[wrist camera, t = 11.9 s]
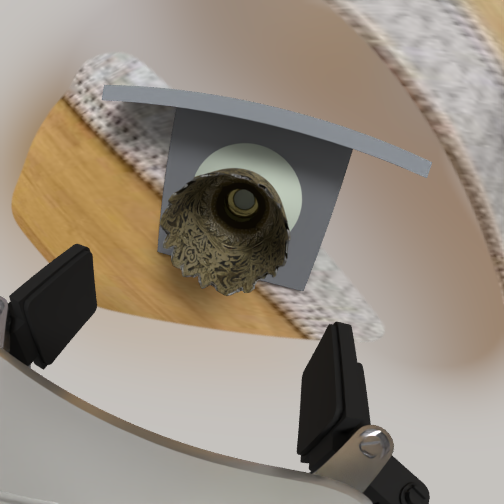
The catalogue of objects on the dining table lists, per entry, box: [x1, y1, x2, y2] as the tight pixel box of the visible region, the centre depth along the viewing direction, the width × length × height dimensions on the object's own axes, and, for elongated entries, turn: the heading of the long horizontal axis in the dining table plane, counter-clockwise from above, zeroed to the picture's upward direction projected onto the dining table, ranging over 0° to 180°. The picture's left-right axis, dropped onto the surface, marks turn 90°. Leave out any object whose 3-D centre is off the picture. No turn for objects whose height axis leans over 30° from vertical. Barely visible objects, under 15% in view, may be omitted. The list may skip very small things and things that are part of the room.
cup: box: [160, 168, 290, 296], centre depth 20 cm, size 8×7×8 cm
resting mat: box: [157, 107, 353, 291], centre depth 23 cm, size 14×14×1 cm
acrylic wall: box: [102, 85, 432, 178], centre depth 19 cm, size 24×1×4 cm, turn 77°
